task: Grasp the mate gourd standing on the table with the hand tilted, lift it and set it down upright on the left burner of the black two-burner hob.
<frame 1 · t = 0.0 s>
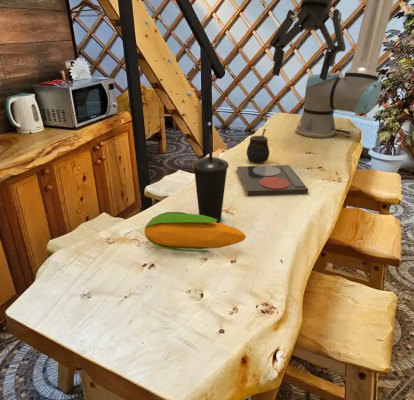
hand: (298, 76, 97), 28 cm above the table, tool tilted 20°, fingers open, 13 cm apart
corn: (195, 248, 74), on the table
hob: (269, 181, 105), on the table
mate gourd: (257, 162, 120), on the table
drinking cup: (210, 220, 84), on the table
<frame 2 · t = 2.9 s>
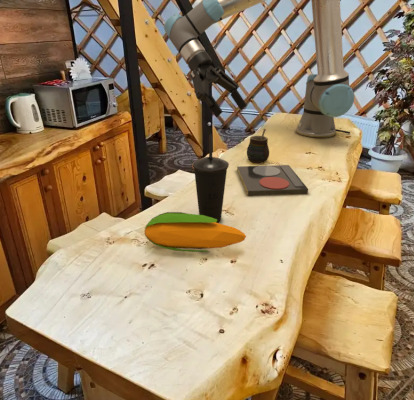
hand: (232, 111, 119), 15 cm above the table, tool tilted 45°, fingers open, 13 cm apart
nothing on the table moved.
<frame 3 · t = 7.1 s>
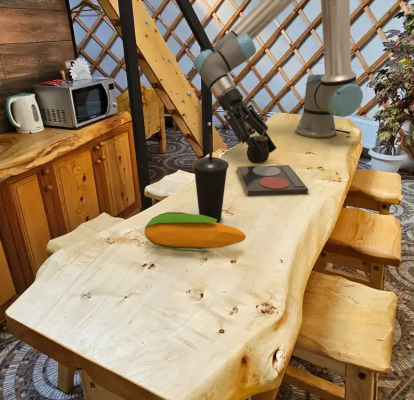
hand: (267, 153, 116), 4 cm above the table, tool tilted 45°, fingers closed on mate gourd, 7 cm apart
mate gourd: (257, 162, 120), on the table, touching gripper
everything else where it was.
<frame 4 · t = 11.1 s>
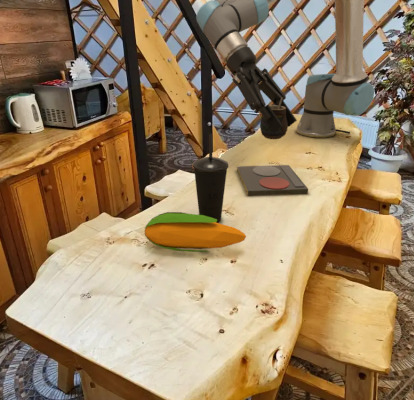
hand: (285, 126, 95), 17 cm above the table, tool tilted 45°, fingers closed on mate gourd, 7 cm apart
mate gourd: (272, 137, 99), point 13 cm above the table, touching gripper
everything else where it was.
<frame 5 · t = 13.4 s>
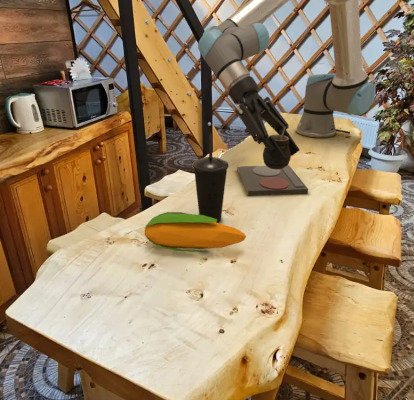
hand: (288, 156, 94), 10 cm above the table, tool tilted 45°, fingers closed on mate gourd, 7 cm apart
mate gourd: (275, 167, 98), point 6 cm above the table, touching gripper
everything else where it was.
when the fingers open (5 cm above the table, at t = 15.1 s): mate gourd stays where it is, resting on hob.
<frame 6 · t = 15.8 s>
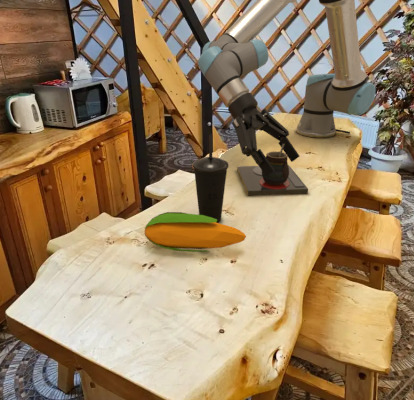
hand: (283, 166, 96), 7 cm above the table, tool tilted 45°, fingers open, 13 cm apart
mate gourd: (274, 182, 100), point 1 cm above the table, touching hob
everything else where it was.
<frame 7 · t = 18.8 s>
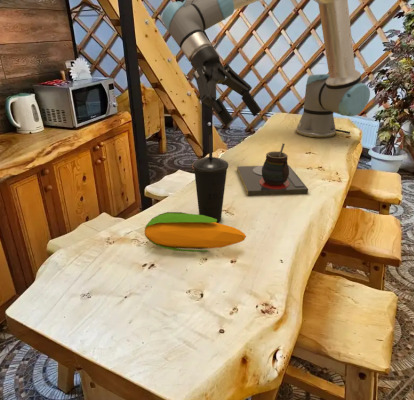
hand: (244, 117, 99), 18 cm above the table, tool tilted 45°, fingers open, 13 cm apart
nothing on the table moved.
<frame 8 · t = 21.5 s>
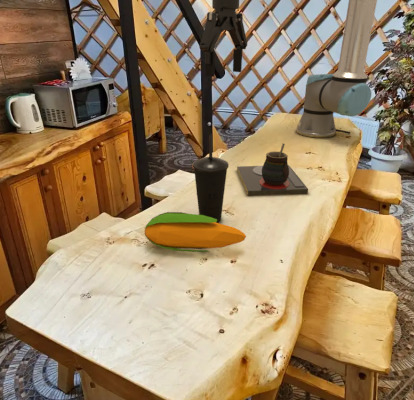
hand: (224, 74, 111), 27 cm above the table, tool pointing down, fingers open, 13 cm apart
nothing on the table moved.
at the end: mate gourd 0.1 cm from the target spot on the hob, point 1.5 cm above the hob's base; mate gourd tilted 0°; the gripper is holding nothing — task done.
